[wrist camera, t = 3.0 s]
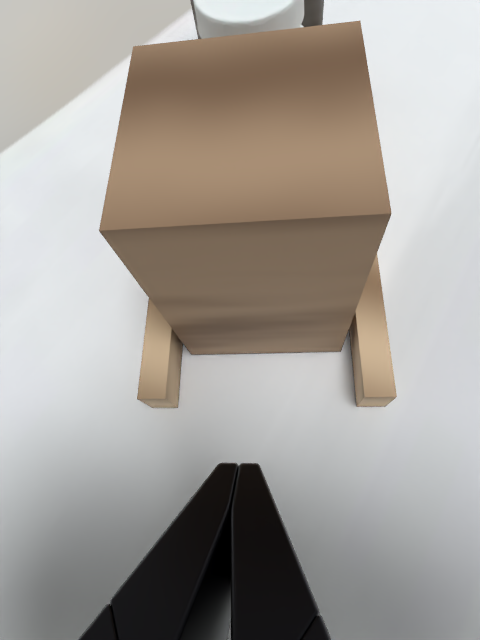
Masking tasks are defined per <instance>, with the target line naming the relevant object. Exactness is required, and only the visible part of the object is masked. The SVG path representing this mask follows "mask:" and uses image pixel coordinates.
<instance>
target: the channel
mask: <svg viewBox="0 0 480 640" xmlns="http://www.w3.org/2000/svg"><path fill="white" fill-rule="evenodd" d="M191 5H192V10H193V15H194V20H195V25H196V30H197V35H198V39H201V37H200V35H199V32H198V29H197V19H196V13H195V8H194V2H193V0H191ZM323 6H324V0H304V18H303V21H302V24H301V25H302V26H304V27H310V26H319V25H322V20H323ZM349 332H350V342H351V352H352V363H353V373H354V383H355V393H356V403H357V407H385V406H387V405H388V404H389V403H390V402H391V401H392V400H394V399H395V398H396V397H397V395H396V388H395V381H394V374H393V366H392V359H391V352H390V345H389V338H388V330H387V323H386V316H385V309H384V301H383V294H382V287H381V280H380V272H379V265H378V258H377V254H376V257H375V259H374V262H373V265H372V268H371V270H370V273H369V276H368V278H367V281H366V284H365V287H364V289H363V292H362V295H361V297H360V300H359V303H358V306H357V308H356V311H355V314H354V316H353V319H352V322H351V325H350V327H349ZM182 346H183V343H182V341H181V340H180V338H179V337H178V336H177V334H176V333H175V332H174V330H173V329H172V328H171V326H170V325H169V324H168V322H167V321H166V320H165V318H164V317H163V316H162V314H161V313H160V312H159V310H158V309H157V308H156V306H155V305H154V304H153V302H152V301H151V300H150V298H149V302H148V310H147V319H146V327H145V336H144V345H143V353H142V362H141V370H140V379H139V387H138V396H137V399H138V400H140V401H142V402H143V403H145V404H147V405H149V406H150V407H152V408H178V398H179V385H180V372H181V359H182Z"/></svg>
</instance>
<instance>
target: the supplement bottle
mask: <svg viewBox="0 0 480 640" xmlns="http://www.w3.org/2000/svg"><path fill="white" fill-rule="evenodd" d="M193 2H194V8H195V13H196V19H197V29H198V32H199V35H200V37H201V39H204V38H213V37H222V36H231V35H240V34H248V33H257V32H266V31H275V30H284V29H292V28H301V27H304V26H302V25H301V24H302V21H303V18H304V0H193Z"/></svg>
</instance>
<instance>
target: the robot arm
mask: <svg viewBox="0 0 480 640" xmlns="http://www.w3.org/2000/svg"><path fill="white" fill-rule="evenodd" d="M110 603H111V605H110V604H107V605H106V606H105V607H104V608H103V610H102V611H101V612H100V614H99V615H98V616H97V617H96V619H95V620H94V621H93V622H92V624H91V625H90V626H89V627H88V628H87V630H86V631H85V632H84V633H83V634H82V636H81V637H80V638H79V639H78V640H227V639H228V633H229V627H230V621H231V640H331V637H330V635H329V633H328V630H327V628H326V625H325V623H324V620H323V618H322V616H320V612H319V609H318V606H317V604H316V602H315V599H314V597H313V594H312V592H311V589H310V587H309V585H308V582H307V580H306V577H305V575H304V572H303V570H302V567H301V565H300V563H299V560H298V558H297V555H296V553H295V550H294V548H293V546H292V543H291V541H290V538H289V536H288V533H287V531H286V528H285V526H284V524H283V521H282V519H281V516H280V514H279V511H278V509H277V507H276V504H275V502H274V499H273V497H272V494H271V492H270V490H269V487H268V485H267V482H266V480H265V477H264V475H263V472H262V470H261V468H260V466H259V464H257V463H241V464H240V465H238V464H237V463H220V464H218V465H217V467H216V468H215V469H214V470H213V472H212V473H211V474H210V475H209V477H208V478H207V479H206V480H205V482H204V483H203V484H202V485H201V487H200V488H199V489H198V491H197V492H196V493H195V494H194V496H193V497H192V498H191V499H190V501H189V502H188V503H187V504H186V506H185V507H184V508H183V509H182V511H181V512H180V513H179V514H178V516H177V517H176V518H175V519H174V521H173V522H172V523H171V525H170V526H169V527H168V528H167V530H166V531H165V532H164V533H163V535H162V536H161V537H160V538H159V540H158V541H157V542H156V543H155V545H154V546H153V547H152V548H151V550H150V551H149V552H148V553H147V555H146V556H145V557H144V558H143V560H142V561H141V562H140V564H139V565H138V566H137V567H136V569H135V570H134V571H133V572H132V574H131V575H130V576H129V577H128V579H127V580H126V581H125V582H124V584H123V585H122V586H121V587H120V589H119V590H118V591H117V592H116V594H115V595H114V596H113V597H112V599H111V600H110Z"/></svg>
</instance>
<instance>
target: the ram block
mask: <svg viewBox="0 0 480 640" xmlns="http://www.w3.org/2000/svg"><path fill="white" fill-rule="evenodd" d="M390 216H391V208H390V202H389V195H388V189H387V183H386V177H385V171H384V165H383V158H382V152H381V146H380V140H379V134H378V128H377V121H376V115H375V109H374V103H373V97H372V91H371V84H370V78H369V72H368V66H367V60H366V54H365V47H364V41H363V35H362V29H361V23H360V21H354V22H345V23H336V24H328V25H319V26H310V27H301V28H292V29H284V30H275V31H266V32H257V33H248V34H240V35H231V36H222V37H213V38H204V39H196V40H187V41H178V42H169V43H160V44H152V45H143V46H135V47H133V51H132V56H131V61H130V67H129V72H128V78H127V83H126V88H125V94H124V99H123V105H122V110H121V115H120V121H119V126H118V132H117V137H116V142H115V148H114V153H113V159H112V164H111V169H110V175H109V180H108V186H107V191H106V196H105V202H104V207H103V213H102V218H101V223H100V229H99V231H100V233H101V234H102V235H103V237H104V238H105V239H106V241H107V242H108V243H109V245H110V246H111V247H112V249H113V250H114V251H115V253H116V254H117V255H118V257H119V258H120V259H121V261H122V262H123V263H124V265H125V266H126V267H127V269H128V270H129V271H130V273H131V274H132V275H133V277H134V278H135V279H136V281H137V282H138V284H139V285H140V286H141V288H142V289H143V290H144V292H145V293H146V294H147V296H148V297H149V298H150V300H151V301H152V302H153V304H154V305H155V306H156V308H157V309H158V310H159V312H160V313H161V314H162V316H163V317H164V318H165V320H166V321H167V322H168V324H169V325H170V326H171V328H172V329H173V330H174V332H175V333H176V334H177V336H178V337H179V338H180V340H181V341H182V343H183V344H184V345H185V347H186V348H187V349H188V351H189V352H190V353H191V355H192V354H240V353H287V352H335V351H341V349H342V346H343V344H344V341H345V338H346V335H347V333H348V330H349V327H350V325H351V322H352V319H353V316H354V314H355V311H356V308H357V306H358V303H359V300H360V297H361V295H362V292H363V289H364V287H365V284H366V281H367V278H368V276H369V273H370V270H371V268H372V265H373V262H374V259H375V257H376V254H377V251H378V249H379V246H380V243H381V240H382V238H383V235H384V232H385V230H386V227H387V224H388V221H389V219H390Z"/></svg>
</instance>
